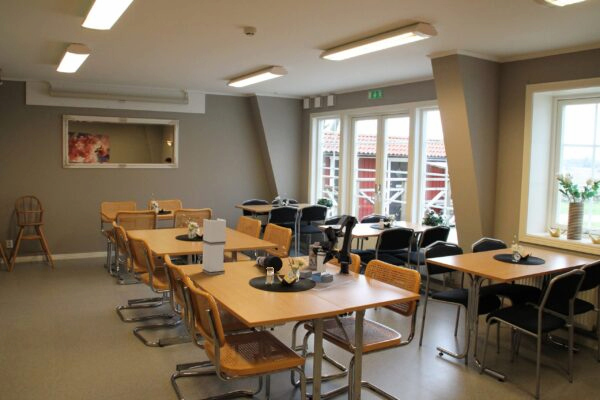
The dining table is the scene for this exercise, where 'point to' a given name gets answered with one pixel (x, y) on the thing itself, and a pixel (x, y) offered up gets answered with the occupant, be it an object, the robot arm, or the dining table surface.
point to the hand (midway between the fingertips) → (320, 263)
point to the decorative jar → (313, 256)
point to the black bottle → (270, 262)
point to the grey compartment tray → (316, 276)
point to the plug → (321, 262)
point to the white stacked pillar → (213, 246)
